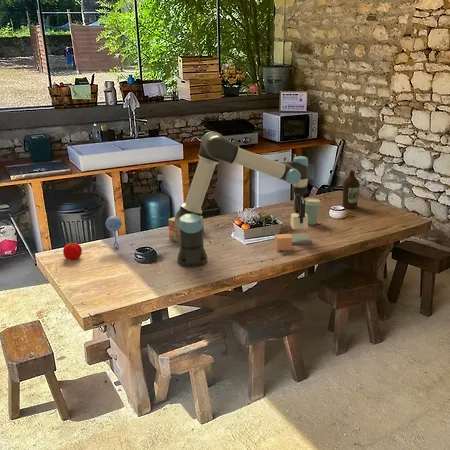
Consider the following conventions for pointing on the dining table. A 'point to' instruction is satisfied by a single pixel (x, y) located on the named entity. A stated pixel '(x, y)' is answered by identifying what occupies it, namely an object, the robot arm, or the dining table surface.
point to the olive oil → (350, 191)
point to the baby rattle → (114, 225)
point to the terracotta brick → (283, 242)
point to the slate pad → (300, 239)
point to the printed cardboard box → (175, 230)
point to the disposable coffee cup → (312, 209)
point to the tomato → (72, 251)
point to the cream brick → (295, 221)
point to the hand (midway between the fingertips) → (299, 226)
